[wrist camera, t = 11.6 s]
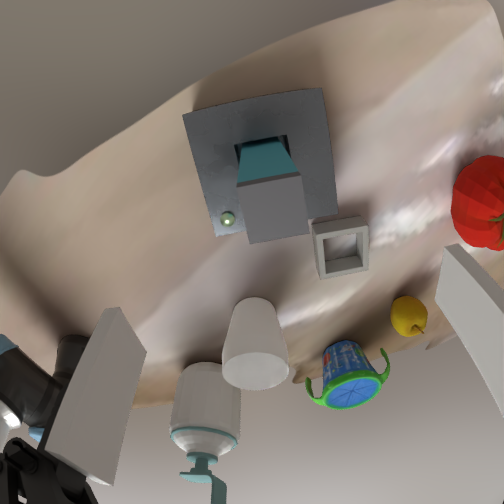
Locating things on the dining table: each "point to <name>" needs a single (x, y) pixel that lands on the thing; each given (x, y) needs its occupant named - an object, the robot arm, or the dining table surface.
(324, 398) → the snack cup
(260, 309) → the cup
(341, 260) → the holster
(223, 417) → the soap bottle
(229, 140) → the port
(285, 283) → the dining table surface
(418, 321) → the apple
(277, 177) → the plug
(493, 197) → the tomato
